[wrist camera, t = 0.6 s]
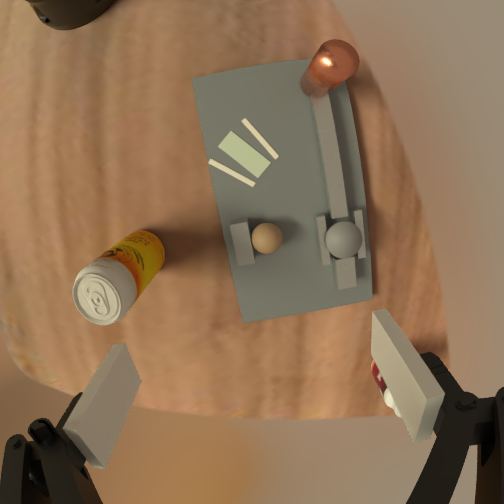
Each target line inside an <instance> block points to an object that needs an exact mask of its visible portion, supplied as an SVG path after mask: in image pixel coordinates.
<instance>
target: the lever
mask: <svg viewBox="0 0 504 504" xmlns="http://www.w3.org/2000/svg"><path fill="white" fill-rule="evenodd" d="M358 67H359V56H358V53H357V52H356V50H355V49H354V48H353V47H352V46H351V45H350V44H349V43H347V42H345V41H342V40H336V39H334V40H329V41H326V42H325V43H323V44H322V45H321V47H320V48H319V50H318V51H317V53H316V54H315V56H314V58H313V59H312V61H311V62H310V64H309V66H308V67H307V69H306V70H305V72H304V74H303V75H302V77H301V79H300V87H301V89H302V91H303V92H304V93H305V94H306V95H307V96H309V97H310V102H311V107H312V112H313V117H314V122H315V127H316V133H317V138H318V144H319V150H320V156H321V161H322V168H323V174H324V180H325V187H326V194H327V201H328V208H329V215H330V218H331V219H335V218H341V217H347V216H348V211H347V202H346V195H345V187H344V180H343V173H342V166H341V160H340V154H339V148H338V142H337V136H336V130H335V125H334V120H333V114H332V109H331V104H330V99H329V94H328V93H329V92H331V91H332V90H333V89H335V88H336V87H337V86H338V85H340V84H341V83H342V82H344V81H345V80H346V79H348V78H349V77H350V76H352V75H353V74H354V73H355V72H356V71H357V69H358ZM351 212H352V221H353V223H354V224H355V225H356V226H357V227H358V228H359V229H360V231H361V233H362V238H363V240H362V245H361V248H360V249H359V251H358V252H357V253H356V257H357V258H358V259H360V258H366V249H365V237H364V226H363V216H362V210H361V209H360V208H356V209H351ZM315 221H316V228H317V236H318V243H319V251H320V259H321V263H322V265H329V264H331V262H330V253H329V250H328V248H327V246H326V242H325V237H326V233H327V229H326V221H325V216H324V215H323V214H319V215H315ZM332 257H333V267H334V277H335V285H336V287H337V288H338V290H341V289H346V288H351V287H356V286H357V285H356V271H355V258H354V256H352V257H349V258H345V259H342V258H337V257H335V256H334V255H332Z"/></svg>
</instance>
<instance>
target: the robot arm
mask: <svg viewBox="0 0 504 504" xmlns="http://www.w3.org/2000/svg"><path fill="white" fill-rule="evenodd" d="M26 1H28V2H29V3H30V5H31V6H32V8H33V10H34V11H35V13H36V14H37V16H38V18H39V19H40V20H41V21H42V22H43V23H44V24H46V25H48V26H50V27H52V28H54V29H57V30H70V29H74V28H77V27H80V26H82V25H84V24H86V23H88V22H90V21H92V20H93V19H95V18H96V17H98V16H99V15H100V14H102V13H103V12H104V11H105V10H106V9H107V8H108V7H109V6H110V5H111V4H112V3H113V2H114V1H115V0H26ZM371 355H372V357H373V359H374V361H375V363H376V365H377V367H378V369H379V371H380V373H381V375H382V377H383V379H384V381H385V383H386V385H387V387H388V389H389V391H390V393H391V395H392V398H393V400H394V402H395V404H396V406H397V408H398V410H399V412H400V415H401V417H402V419H403V421H404V423H405V425H406V428H407V430H408V432H409V434H410V436H411V439H412V440H413V443H414V444H415V443H418V442H421V441H424V440H427V439H430V437H431V434H432V432H433V430H434V432H435V434H436V436H437V438H436V440H435V443H434V445H433V448H432V450H431V453H430V455H429V457H428V459H427V462H426V464H425V466H424V468H423V471H422V473H421V475H420V477H419V479H418V481H417V483H416V485H415V487H414V489H413V491H412V493H411V495H410V497H409V499H408V501H407V503H406V504H449V502H450V499H451V497H452V495H453V492H454V489H455V487H456V484H457V482H458V479H459V476H460V473H461V471H462V467H463V465H464V462H465V458H466V455H467V452H468V449H469V446H470V445H477V446H478V448H477V450H478V453H477V481H476V494H475V504H504V387H502V388H501V389H499V391H498V392H497V394H496V396H495V397H489V398H477V396H475V395H474V394H472V393H470V392H464V391H463V390H462V388H461V387H460V386H459V385H458V383H457V381H456V380H455V379H454V377H453V376H452V374H451V373H450V372H449V371H448V369H447V368H446V366H444V364H443V362H442V361H441V360H440V358H439V357H438V356H436V355H435V354H433V353H431V352H427V353H424V354H420V355H419V354H418V352H417V351H416V349H415V348H414V347H413V345H412V344H411V342H410V341H409V339H408V338H407V337H406V335H405V334H404V332H403V331H402V330H401V328H400V327H399V325H398V324H397V323H396V321H395V320H394V319H393V317H392V316H391V314H390V313H389V312H388V310H387V309H386V308H385V309H380V310H375V311H372V341H371ZM141 382H142V381H141V379H140V376H139V374H138V372H137V370H136V368H135V365H134V363H133V361H132V358H131V356H130V354H129V351H128V349H127V346H126V344H125V343H123V344H113V346H112V347H111V349H110V351H109V352H108V354H107V355H106V357H105V358H104V360H103V362H102V363H101V365H100V366H99V368H98V370H97V371H96V373H95V374H94V376H93V378H92V379H91V381H90V383H89V384H88V386H87V387H86V389H85V391H84V392H80V393H79V394H78V395H76V396H75V397H74V398H73V400H72V401H71V403H70V404H69V407H68V408H67V409H66V412H65V413H64V414H63V416H62V418H61V419H60V421H59V423H58V424H57V426H56V428H54V426H53V425H52V423H51V422H50V421H49V420H48V419H46V418H40V419H37V420H35V421H33V422H32V423H31V424H30V426H29V428H28V433H29V435H30V436H31V437H32V438H33V440H34V441H27V440H26V438H25V437H24V436H23V435H21V434H16V435H13V436H12V437H10V438H9V439H8V441H7V443H6V446H5V452H4V459H3V465H2V472H1V481H0V504H103V503H102V501H101V499H100V497H99V495H98V492H97V490H96V488H95V486H94V484H93V482H92V479H91V477H90V475H89V473H88V470H87V468H86V467H85V466H84V463H85V461H86V460H87V461H88V462H89V463H90V465H91V466H92V467H96V468H103V469H106V467H107V464H108V461H109V459H110V456H111V454H112V451H113V449H114V446H115V444H116V441H117V439H118V437H119V434H120V432H121V429H122V427H123V424H124V422H125V419H126V417H127V415H128V412H129V410H130V407H131V405H132V403H133V400H134V398H135V396H136V393H137V391H138V389H139V386H140V384H141Z"/></svg>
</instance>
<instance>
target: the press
mask: <svg viewBox="0 0 504 504" xmlns="http://www.w3.org/2000/svg"><path fill="white" fill-rule="evenodd" d="M312 59H313V58H311V59H301V60H292V61H283V62H276V63H269V64H262V65H256V66H250V67H245V68H239V69H234V70H229V71H224V72H219V73H214V74H210V75H206V76H201V77H197V78H193V79H192V83H193V89H194V94H195V99H196V104H197V110H198V115H199V120H200V125H201V130H202V135H203V140H204V145H205V150H206V155H207V160H208V165H209V170H210V174H211V179H212V184H213V189H214V194H215V198H216V203H217V208H218V212H219V217H220V222H221V226H222V231H223V235H224V240H225V244H226V249H227V254H228V258H229V262H230V267H231V271H232V276H233V280H234V285H235V289H236V293H237V298H238V302H239V306H240V311H241V315H242V319H243V323H247V322H254V321H260V320H266V319H272V318H278V317H284V316H290V315H295V314H301V313H306V312H312V311H317V310H322V309H328V308H333V307H338V306H343V305H347V304H352V303H357V302H362V301H366V300H371V299H373V297H372V272H371V255H370V241H369V229H368V218H367V208H366V199H365V190H364V182H363V175H362V167H361V160H360V154H359V147H358V141H357V135H356V129H355V124H354V118H353V113H352V108H351V103H350V98H349V93H348V88H347V84H346V80H345V81H344V82H342V83H341V84H340V85H338V86H337V87H336V88H335V89H333V90H332V91H331V92H329V93H328V94H329V99H330V104H331V109H332V114H333V120H334V125H335V130H336V136H337V142H338V148H339V154H340V160H341V166H342V173H343V180H344V187H345V195H346V202H347V211H348V216H347V217H341V218H335V219H331V218H330V215H329V208H328V201H327V194H326V187H325V180H324V174H323V168H322V161H321V156H320V150H319V144H318V138H317V133H316V127H315V122H314V117H313V112H312V107H311V102H310V97H309V96H307V95H306V94H305V93H304V92H303V91H302V89H301V87H300V79H301V77H302V75H303V74H304V72H305V70H306V69H307V67H308V66H309V64H310V62H311V61H312ZM356 208H360V209H361V210H362V216H363V226H364V237H365V249H366V258H360V259H358V258H357V257H356V253H357V252H358V251H359V249H360V248H361V245H362V240H363V238H362V233H361V231H360V229H359V228H358V227H357V226H356V225H355V224H354V223H353V221H352V212H351V209H356ZM319 214H323V215H324V216H325V221H326V229H327V233H326V237H325V242H326V246H327V248H328V250H329V253H330V262H331V264H329V265H322V263H321V259H320V251H319V243H318V236H317V228H316V221H315V215H319ZM332 255H334V256H335V257H337V258H342V259H345V258H349V257H352V256H354V258H355V271H356V285H357V286H356V287H351V288H346V289H341V290H338V288H337V287H336V285H335V277H334V267H333V257H332Z"/></svg>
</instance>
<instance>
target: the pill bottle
mask: <svg viewBox="0 0 504 504" xmlns="http://www.w3.org/2000/svg"><path fill="white" fill-rule="evenodd" d="M371 371H372V374H373V376H374V378H375V381H376V383H377V385H378V387H379V390H380V392H381V394H382V397H383V399H384V401H385V403H386V404H387V406H389V407H391V408H393V409H394V411H395V413H396V415H397V416H398V417H401V415H400V412H399V410H398V408H397V406H396V404H395V402H394V400H393V398H392V395H391V393H390V391H389V389H388V387H387V385H386V383H385V381H384V379H383V377H382V375H381V373H380V371H379V369H378V367H377V365H376V363H375V361H374V359H373V361H372V364H371Z"/></svg>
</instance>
